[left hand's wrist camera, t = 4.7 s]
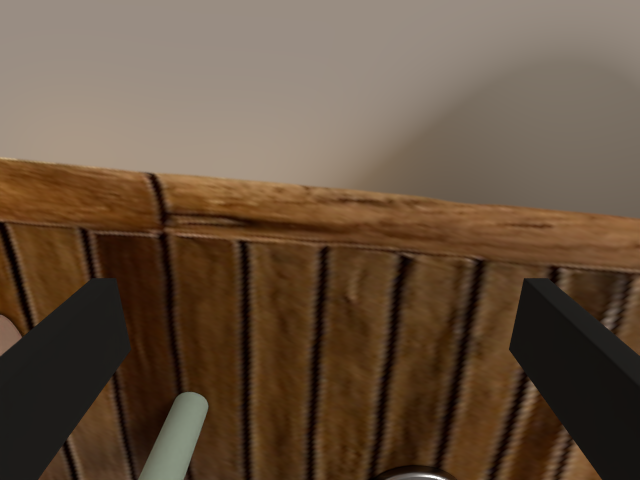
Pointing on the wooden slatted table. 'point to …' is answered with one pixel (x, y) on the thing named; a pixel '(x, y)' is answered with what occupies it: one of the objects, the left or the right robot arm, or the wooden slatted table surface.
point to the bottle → (176, 439)
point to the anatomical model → (7, 334)
